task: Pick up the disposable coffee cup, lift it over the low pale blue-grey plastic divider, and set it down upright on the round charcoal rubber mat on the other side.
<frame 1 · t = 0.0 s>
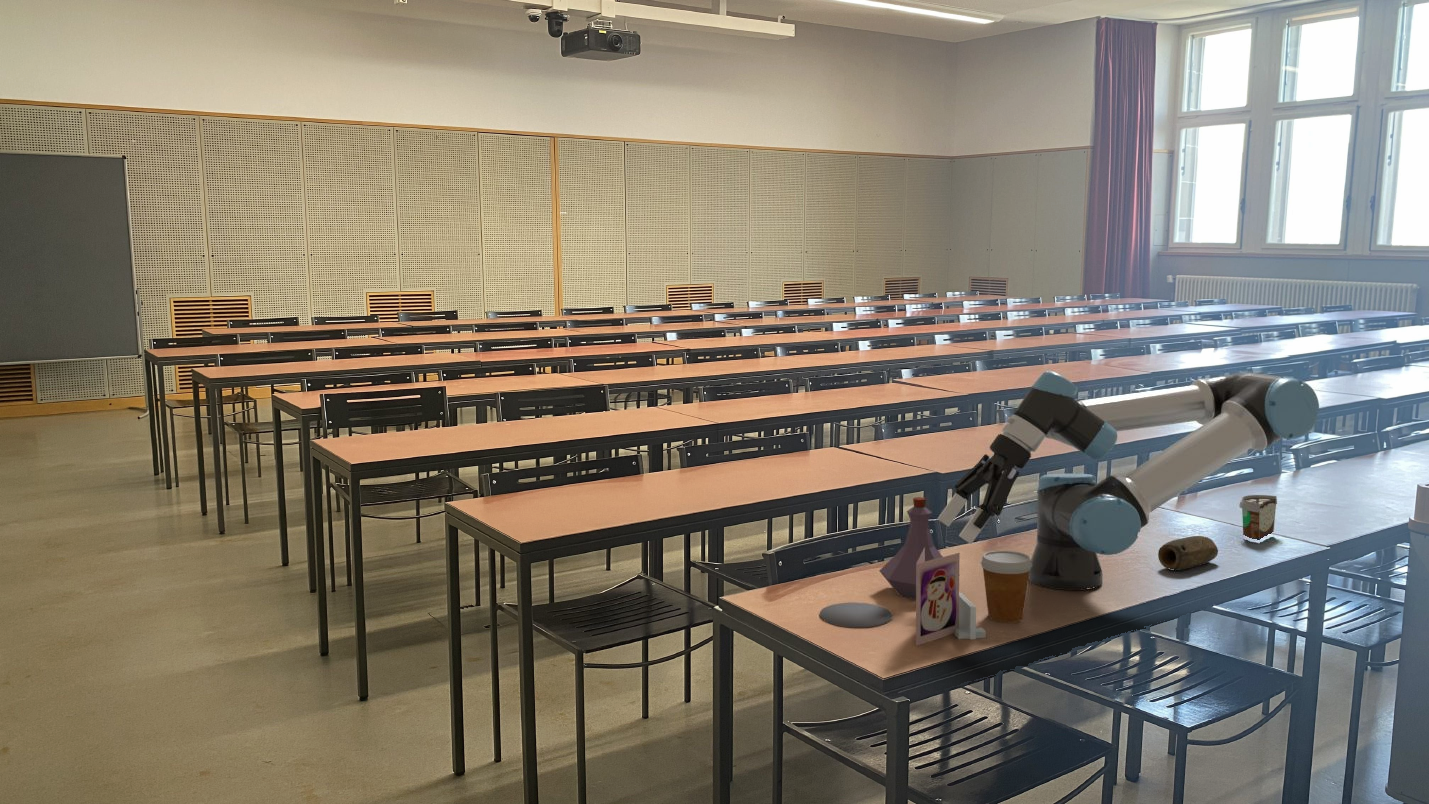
hand: (953, 531, 196), 15 cm above the table, tool tilted 35°, fingers open, 13 cm apart
greeting card: (925, 635, 183), on the table
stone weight: (1188, 567, 222), on the table
divider: (957, 623, 188), on the table
food container: (1252, 538, 244), on the table
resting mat: (855, 615, 194), on the table
disposable coffee cup: (1005, 618, 191), on the table
flask: (919, 593, 207), on the table
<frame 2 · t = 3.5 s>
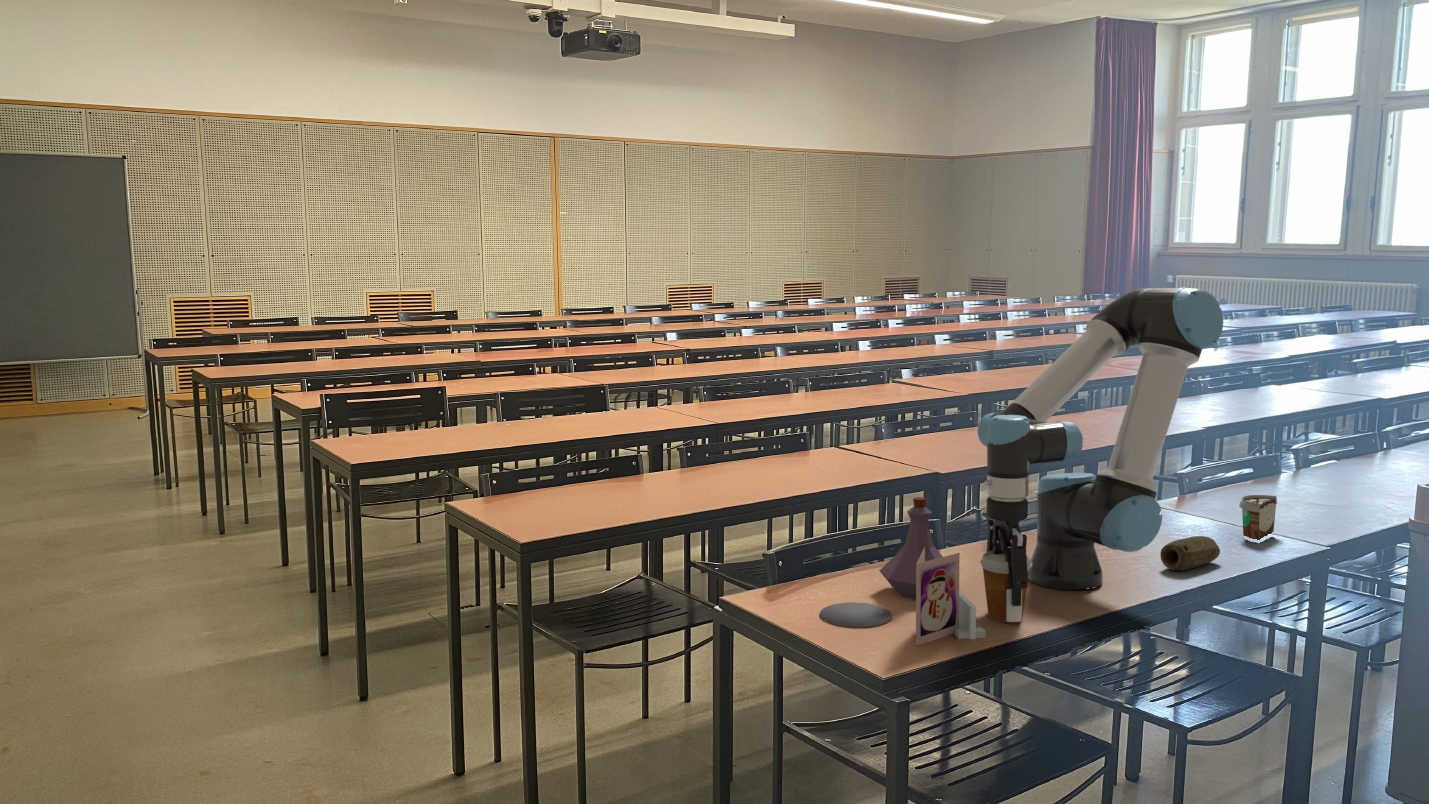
hand: (1005, 613, 191), 1 cm above the table, tool pointing down, fingers closed on disposable coffee cup, 8 cm apart
disposable coffee cup: (1005, 618, 191), on the table, touching gripper
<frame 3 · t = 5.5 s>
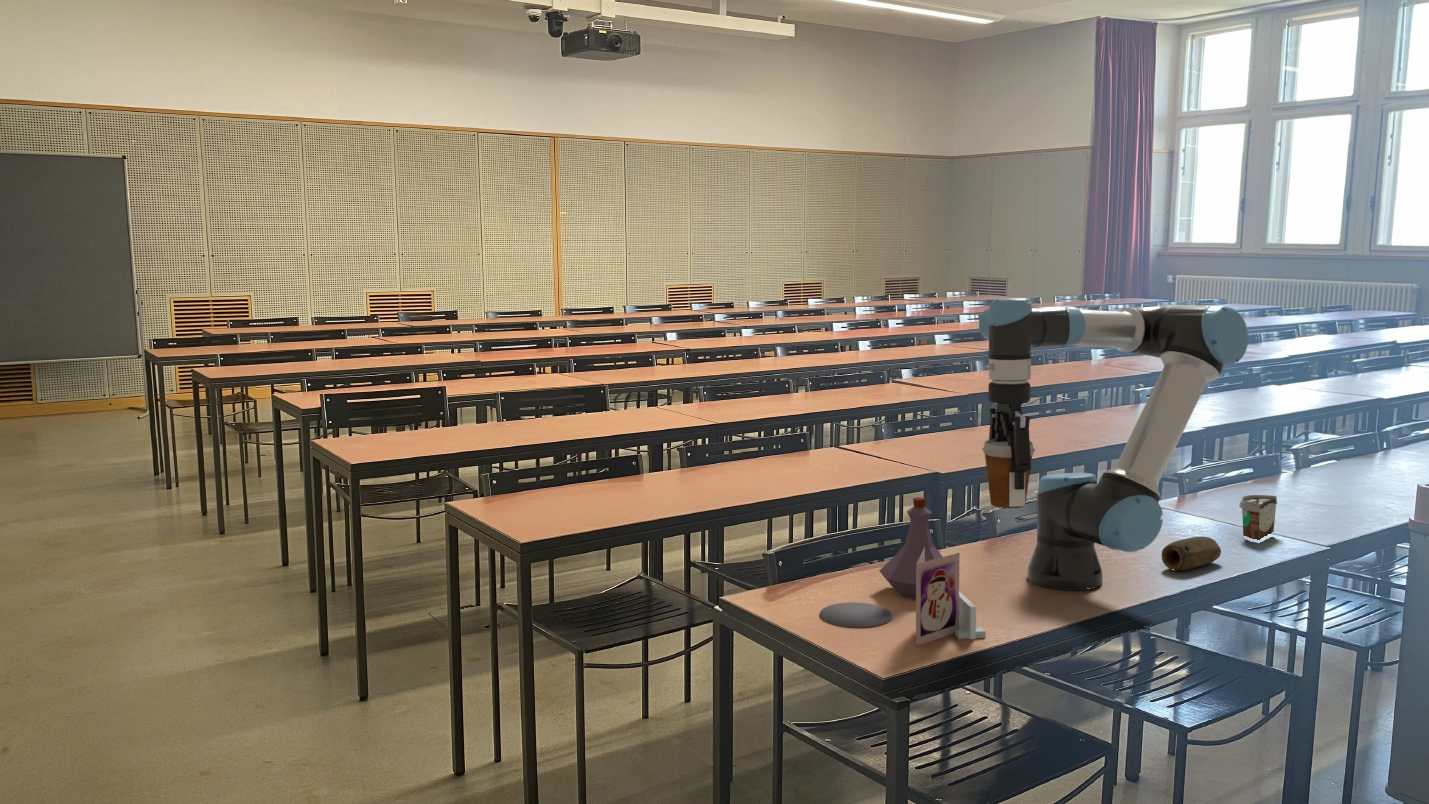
hand: (1008, 500, 189), 23 cm above the table, tool pointing down, fingers closed on disposable coffee cup, 8 cm apart
disposable coffee cup: (1008, 505, 189), point 22 cm above the table, touching gripper
everything else where it was.
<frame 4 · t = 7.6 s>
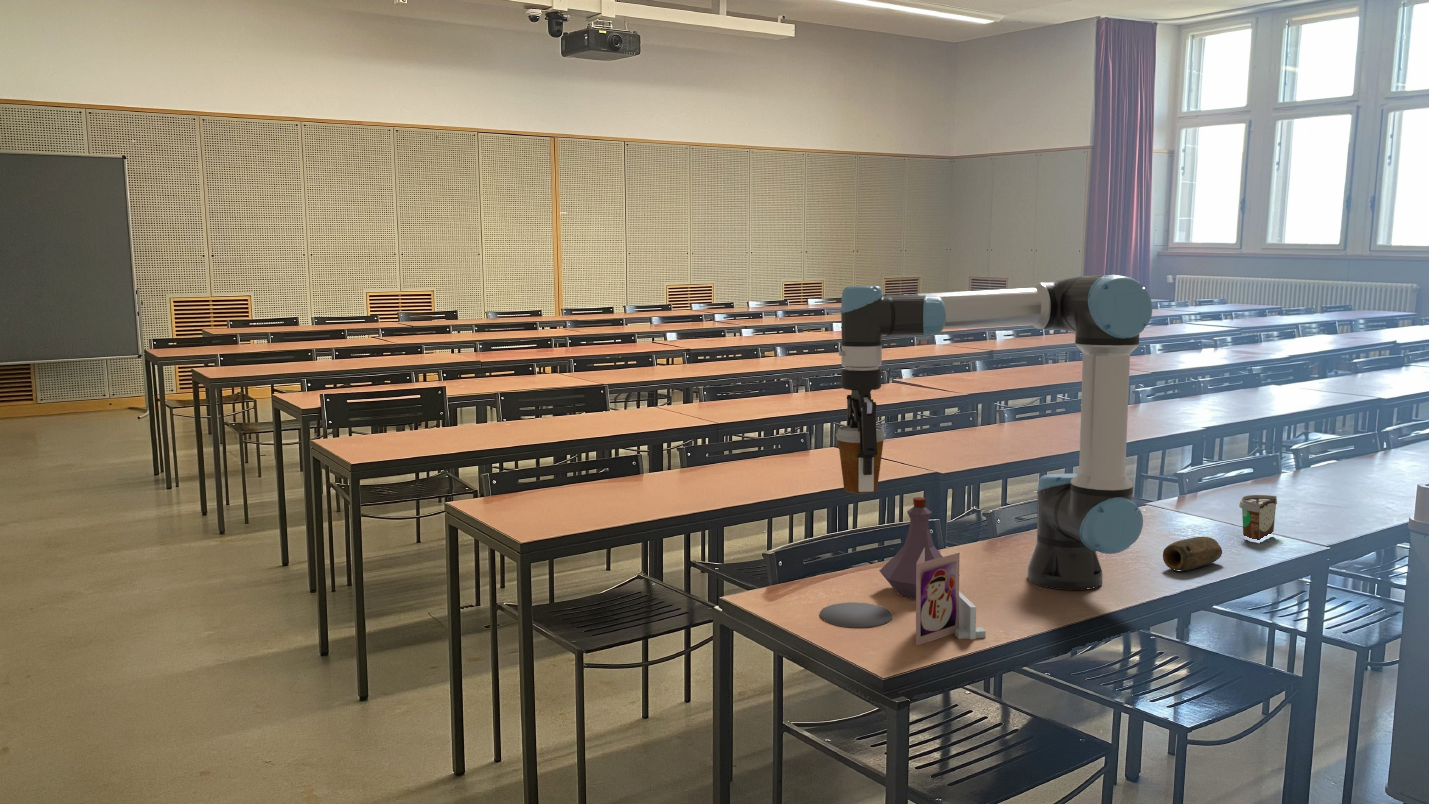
hand: (860, 486, 191), 26 cm above the table, tool pointing down, fingers closed on disposable coffee cup, 8 cm apart
disposable coffee cup: (860, 491, 191), point 25 cm above the table, touching gripper
everything else where it was.
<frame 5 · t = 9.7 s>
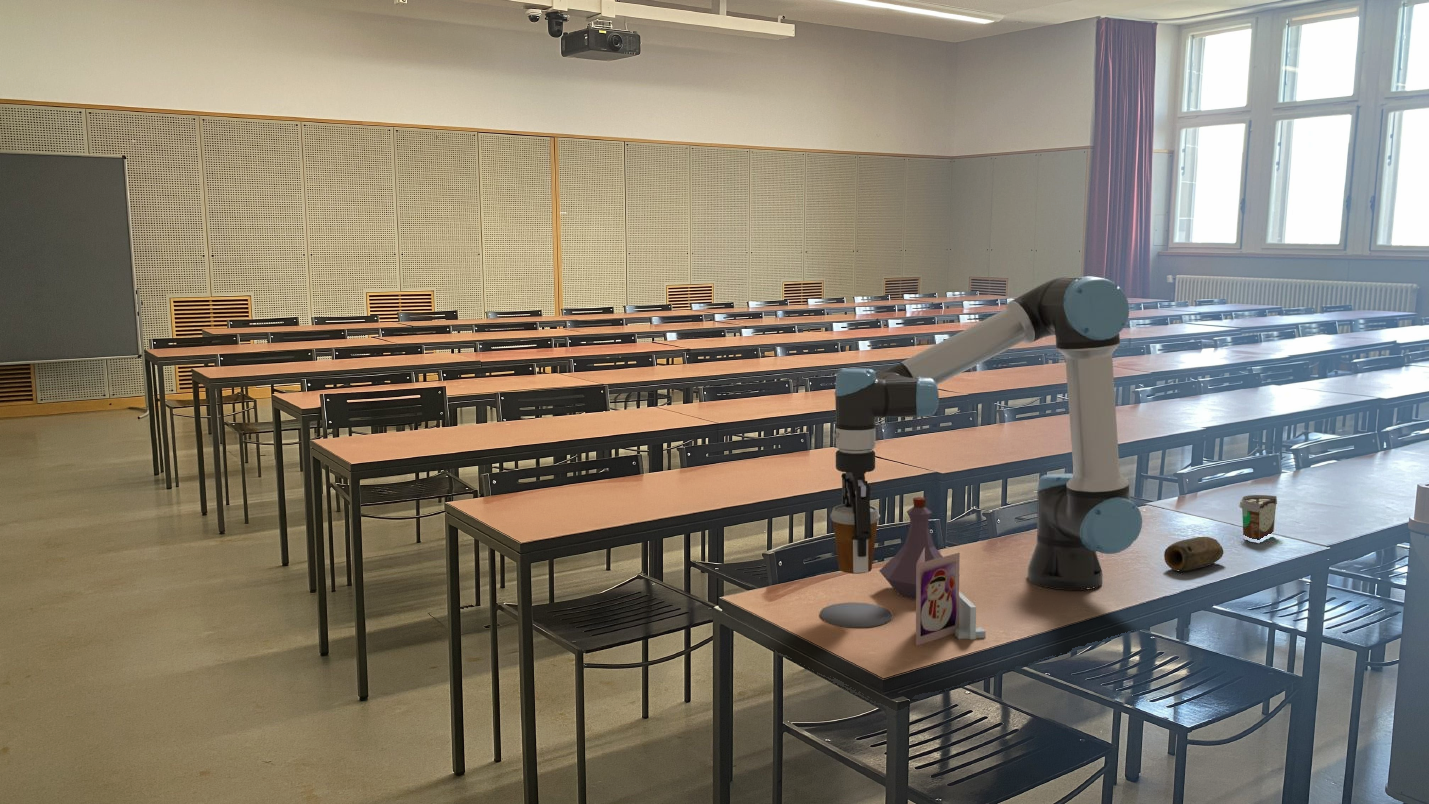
hand: (855, 565, 193), 10 cm above the table, tool pointing down, fingers closed on disposable coffee cup, 8 cm apart
disposable coffee cup: (855, 570, 193), point 9 cm above the table, touching gripper
when the fingers open (3 cm above the table, at t = 11.6 s): disposable coffee cup drops 2 cm, resting on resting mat.
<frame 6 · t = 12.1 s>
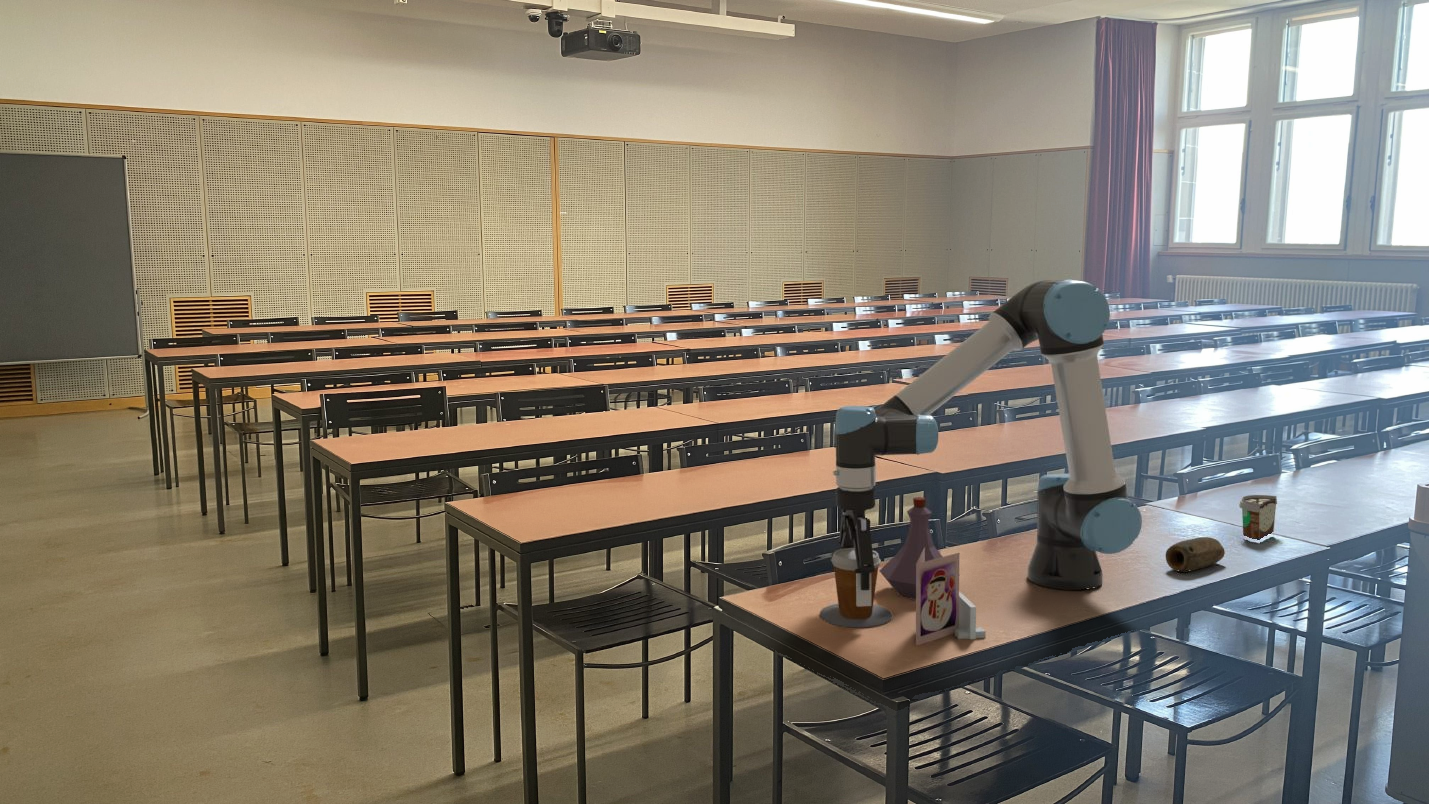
hand: (855, 594, 193), 4 cm above the table, tool pointing down, fingers open, 13 cm apart
disposable coffee cup: (855, 614, 194), resting on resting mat
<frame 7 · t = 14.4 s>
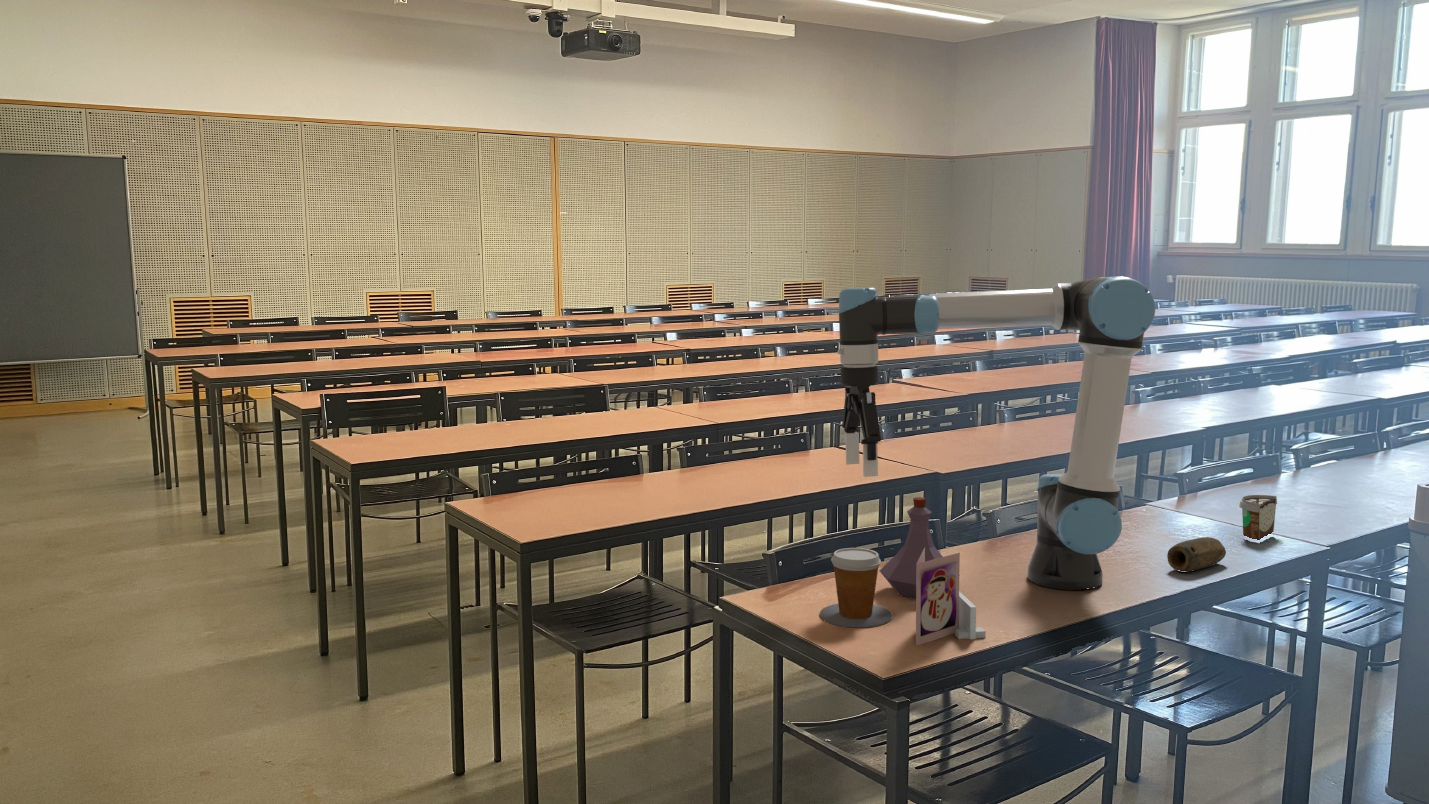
hand: (861, 470, 202), 27 cm above the table, tool pointing down, fingers open, 13 cm apart
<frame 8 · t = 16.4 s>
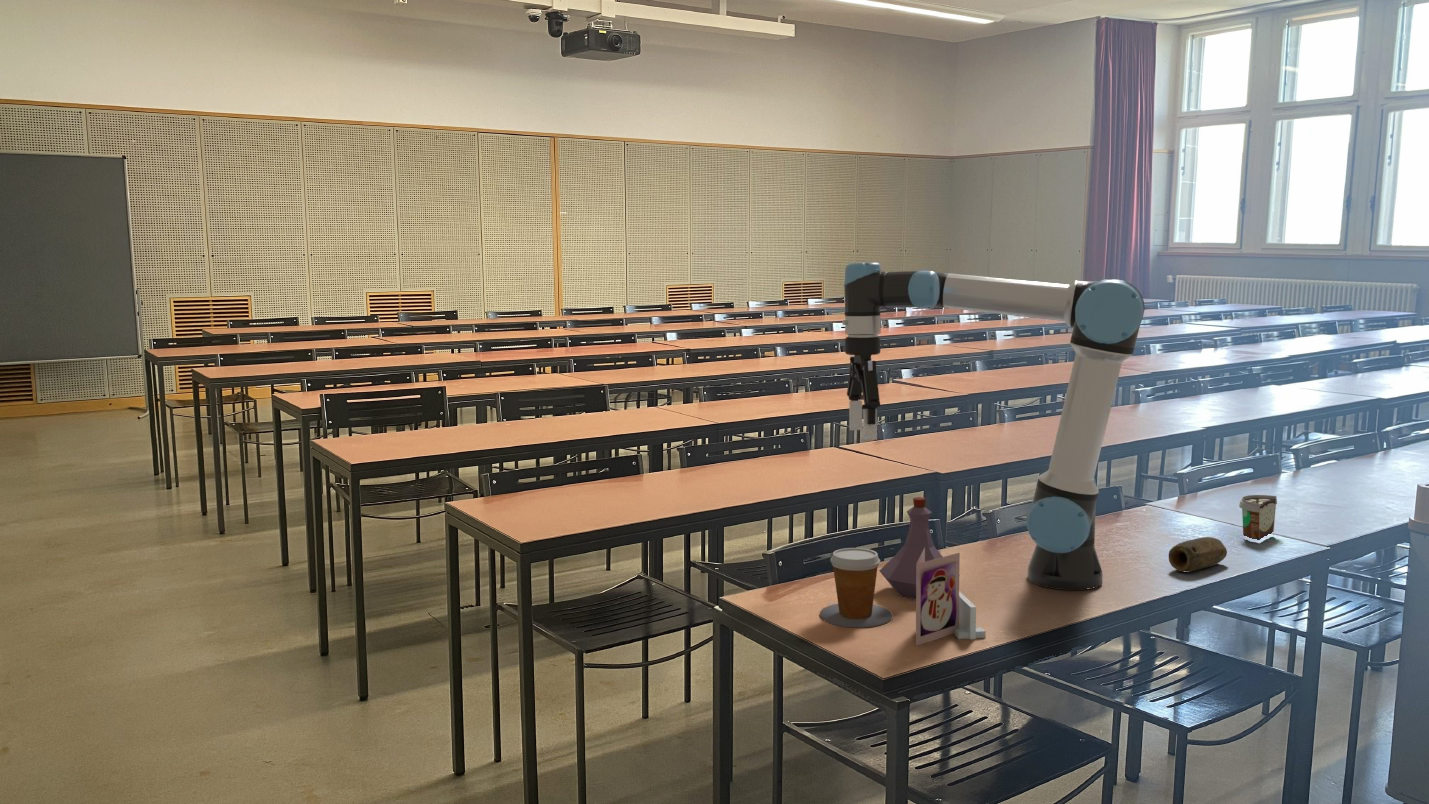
hand: (862, 434, 214), 32 cm above the table, tool pointing down, fingers open, 13 cm apart
at the end: disposable coffee cup 0.1 cm from the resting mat (horizontally); disposable coffee cup tilted 1°; disposable coffee cup resting on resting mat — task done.
